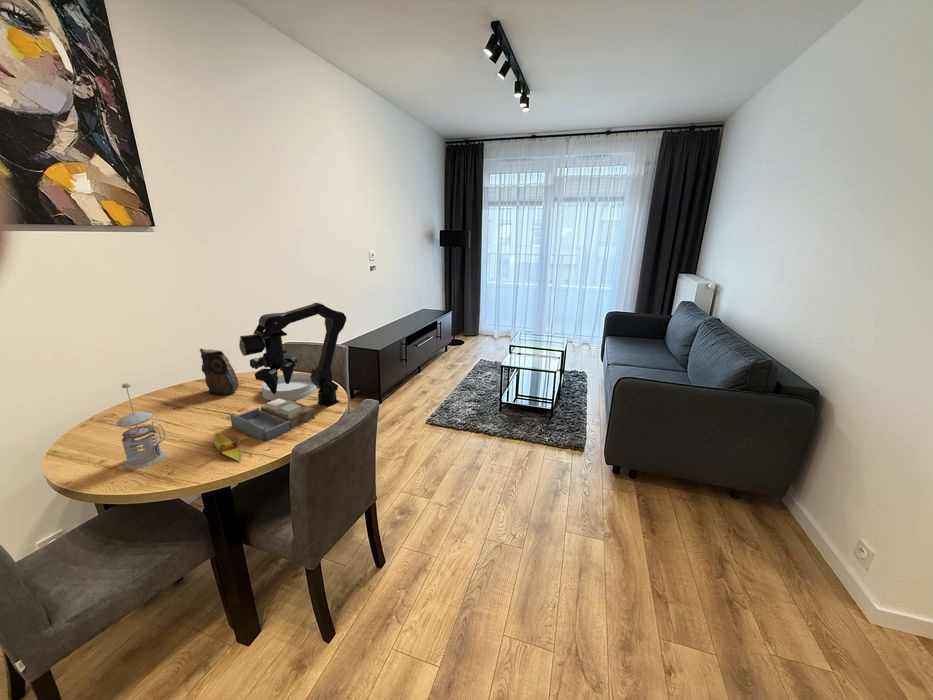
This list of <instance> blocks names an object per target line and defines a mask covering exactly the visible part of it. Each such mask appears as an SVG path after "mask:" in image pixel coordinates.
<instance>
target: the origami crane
mask: <svg viewBox="0 0 933 700" xmlns="http://www.w3.org/2000/svg"><path fill="white" fill-rule="evenodd" d="M246 439H248V435H241V434H240V435H239V436H237V437H236V439H235V441H232V440H231V439H230V438H228V437H225V436H223V435H221V434H219V433H217V432H215V433H214V442H213V443H212V445H213V447H215V448H216V449H217V450H218V451H219V454H220V455H221V456H222V455H224V456H227V457H229V458H231V459H233V460H236V461H237V462H240V463H241V462H242V460H241V459H242V456H241V454H242V452H241V448H240V447H239V445H240V442H241V441H242V440H243V441H244V440H246Z"/></svg>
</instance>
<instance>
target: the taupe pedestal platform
mask: <svg viewBox="0 0 933 700" xmlns="http://www.w3.org/2000/svg"><path fill="white" fill-rule="evenodd" d="M282 400H285V401H287V403H288V405H289V404H291V403H293V404H296V405H299V406H301V411H300V412H298V413H295V414H293V415H291V416H287V415H285V414H282V413H281V412H280V409H279V410H277V411H275V410H272V409H270V408H268V406H267V404H264V405H262V406H260V410H262V411H264V412H266V413H269V414H271V415H274V416H276V417H279V418H281V419H283V420H286V421H291V429H293V428H295V427H298V426H301V425H302V424H304V423H307V422H309V421H311V420H313V419H315V408H314V407H311V406H308V405H305V404H303V403H301V402H297V401H296V400H293V401H292V400H289V399H286V398H283V399H282Z"/></svg>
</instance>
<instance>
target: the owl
mask: <svg viewBox="0 0 933 700" xmlns="http://www.w3.org/2000/svg"><path fill="white" fill-rule="evenodd" d="M199 352H200V357H201V361H202V362H201V363H202V364H201V371H202V373H203V374H204V376H205V377H204V378H205V379H204V380H205V384H206V386H207V388H208V394H209V395H214V396H218V397H220V396H221V397H223V396H233V395H235V394H236V392H237V391H238V389H239V388H238V386H239V387H240V385H239V380H238V379H239V378H238V376H237V374H236V372H235V369H234V368H233V366H232V365H231V363H230V360H229V358H228V357H227V355H225V353H224V352H223V351H222V350H218V349H204V348H200V349H199ZM237 388H238V389H237ZM235 391H236V392H235ZM234 393H235V394H234Z"/></svg>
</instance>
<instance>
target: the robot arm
mask: <svg viewBox="0 0 933 700" xmlns="http://www.w3.org/2000/svg"><path fill="white" fill-rule="evenodd" d="M317 315H318V316H320V317H322V318H324V326H325V336H324V340H323V345H322V349H321V353H320V357H319V361H318V362H319V363H318V365H317V367H316V368H313V367H312V369H311V374H310V375H311V376H310V378H311V382H312V383H313V384H314V385H315V386H316V387H317V389H319V390H318V391H317V392H318V394H317V398H318V399H317V400H318V401H317V402H316V403H317V404H318V405H320V406H323V407H325V408H326V407H327V408H328V407H329V406H333V405H335V404H337V403H340V400H339V399H337V391H338V388H339V385H338V384H337V383H335V382H334V381H333V373H332V372H333V371H332V364H333V359H334V354H335V351H336V346H337V342H338V338H339V334H340V333H341V331H342V330H343V329H344V327H345V324H346V322H347V316H346V314H345V313H344V312H342V311H337V310H334V309H332V308H329V307H328V306H326V305H325V304H323V303H320V302H313V303H311V304H308V305H305V306H302V307H299V308H295V309H292V310H288V311H286V312H274V313H265V314H262V315H261V316H260V318H259V319H258V324H257V327H256V328H255V330H254V332H253V333H252V334H249V335H240V336H239V338H240V339H239V344H238V346H239V351H240V353H241V354H242V356H243V357H246V356H251V355H254V354H259V353H263V351H265V352H264V353H263V355H262V356H260V357H254V358H251V359H249V367H251V369H255V370H257V371H256V372H255V374H254V377H255V380H256V381H260V382H263V383H264V382H265V383H266V384H267V386H268V387H269V389H270V390H271V392H272V393H273V394H276V391H277V384H278V377H277V376H279V372H278V371H279V370H281V371H282V375H284V379H285V382H286V384H289V382H290V380H291V377H292V374H294V371H295V368H296V367H297V364H298V363H299V362H298V358H297V357H296V356H295V355H285V354H286V353H287V350H286V349H284V346H283V338H282V337H284V336H285V337H286V336H288V333H287V332H285V331H284V330H283V329H285V328H286V327H287V326H288V325H291V324H292V323H296V322H298V321H302V320H305V319H308V318H310V317H314V316H317ZM263 367H264V368H263ZM259 368H261V369H259ZM258 369H259V370H258Z"/></svg>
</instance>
